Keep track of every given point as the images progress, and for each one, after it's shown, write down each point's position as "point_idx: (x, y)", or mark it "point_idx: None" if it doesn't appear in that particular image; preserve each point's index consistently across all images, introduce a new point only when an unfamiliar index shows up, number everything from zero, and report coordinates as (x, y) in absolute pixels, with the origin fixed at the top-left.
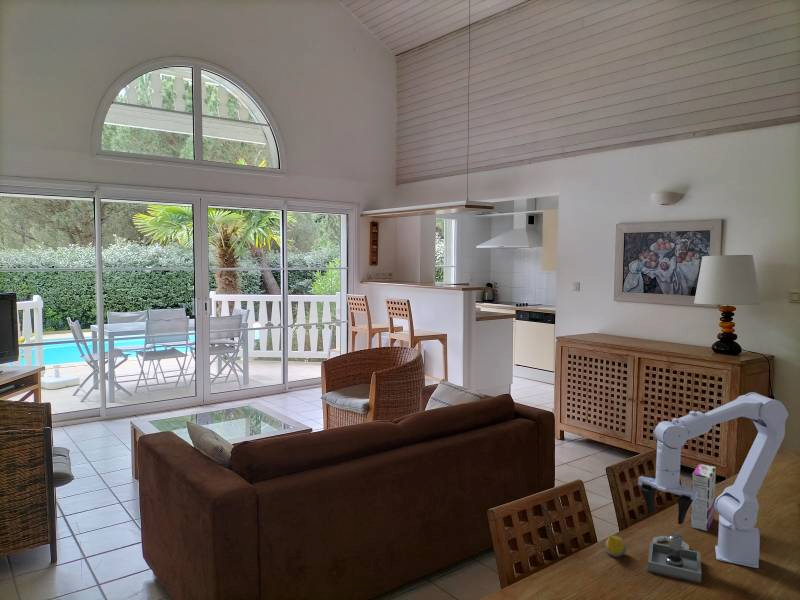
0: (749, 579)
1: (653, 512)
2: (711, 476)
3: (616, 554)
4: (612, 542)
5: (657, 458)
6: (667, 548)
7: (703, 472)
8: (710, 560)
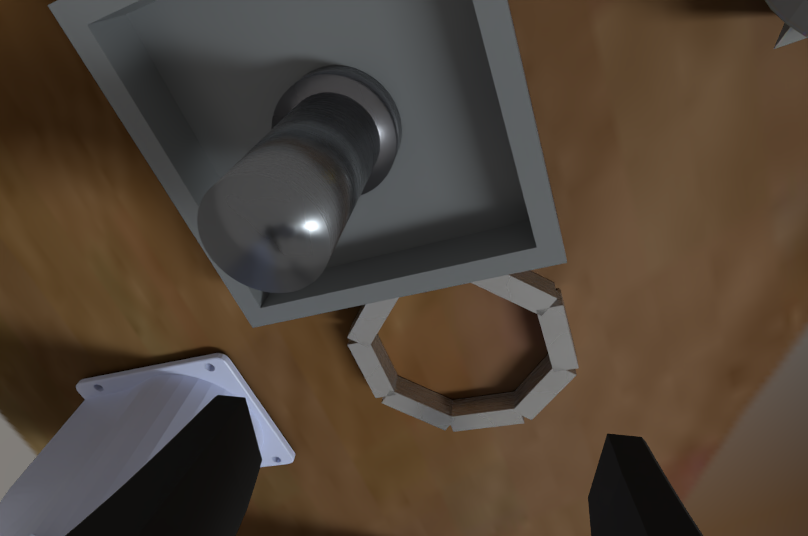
0: (30, 265)
1: (591, 499)
2: None
3: None
4: None
5: None
6: (435, 262)
7: None
8: (245, 332)
